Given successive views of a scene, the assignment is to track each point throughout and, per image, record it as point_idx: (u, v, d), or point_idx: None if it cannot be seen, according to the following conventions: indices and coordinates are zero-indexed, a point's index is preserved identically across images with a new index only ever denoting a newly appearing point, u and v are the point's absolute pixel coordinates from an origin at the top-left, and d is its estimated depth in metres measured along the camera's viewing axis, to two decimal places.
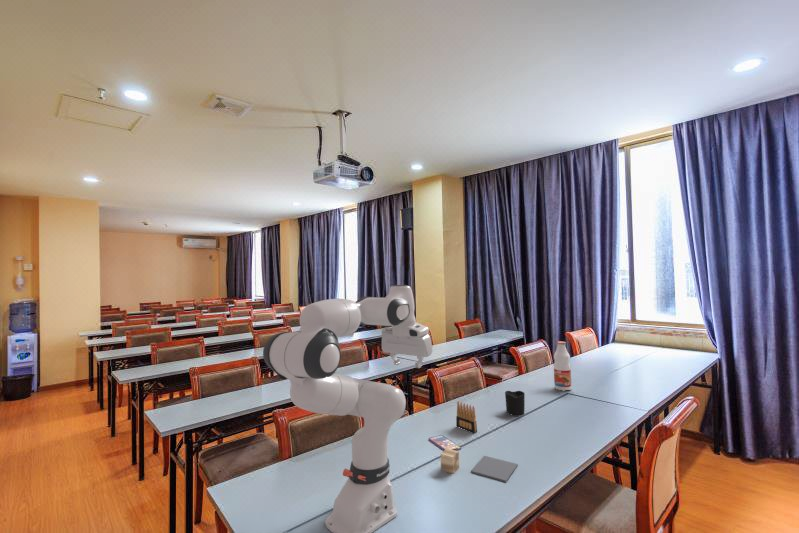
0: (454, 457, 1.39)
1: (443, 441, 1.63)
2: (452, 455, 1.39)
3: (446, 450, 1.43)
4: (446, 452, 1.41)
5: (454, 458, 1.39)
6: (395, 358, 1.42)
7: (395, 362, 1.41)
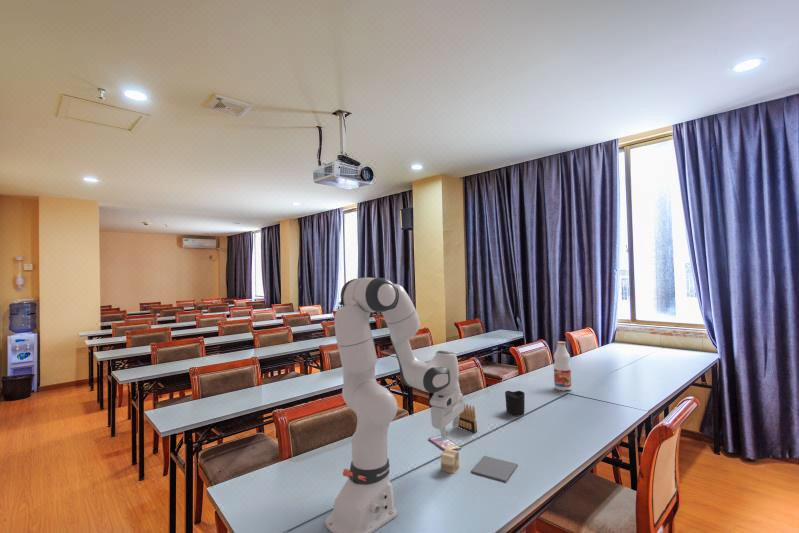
0: (454, 457, 1.39)
1: (443, 441, 1.63)
2: (452, 455, 1.39)
3: (446, 450, 1.43)
4: (446, 452, 1.41)
5: (454, 458, 1.39)
6: (455, 420, 1.46)
7: None
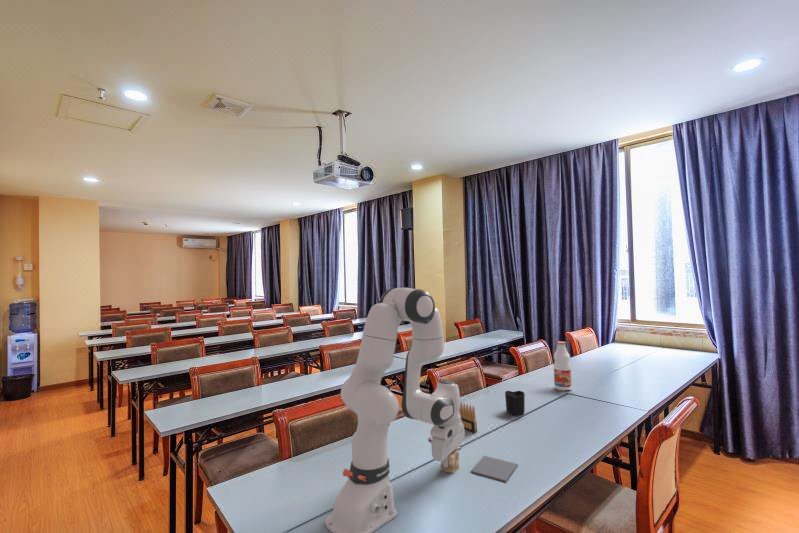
0: (454, 457, 1.39)
1: None
2: (452, 455, 1.39)
3: None
4: None
5: (454, 458, 1.39)
6: None
7: None
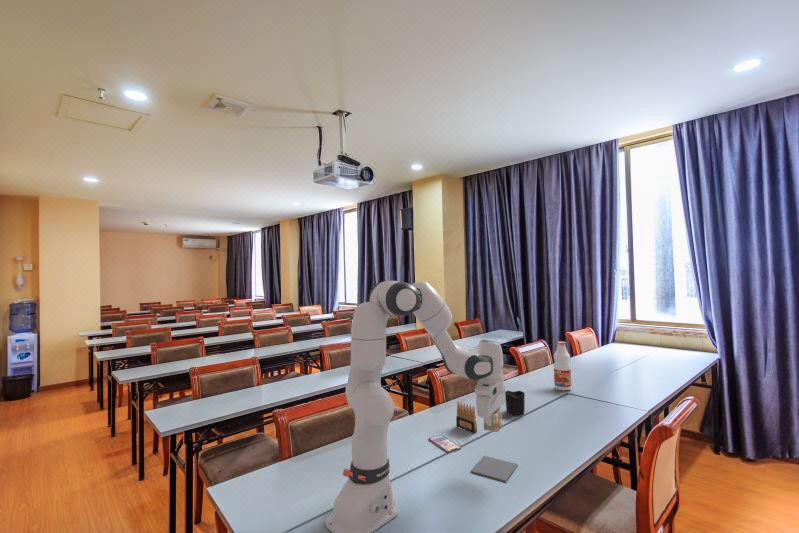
0: (498, 416, 1.38)
1: (443, 441, 1.63)
2: (495, 414, 1.38)
3: None
4: None
5: (498, 417, 1.38)
6: None
7: None
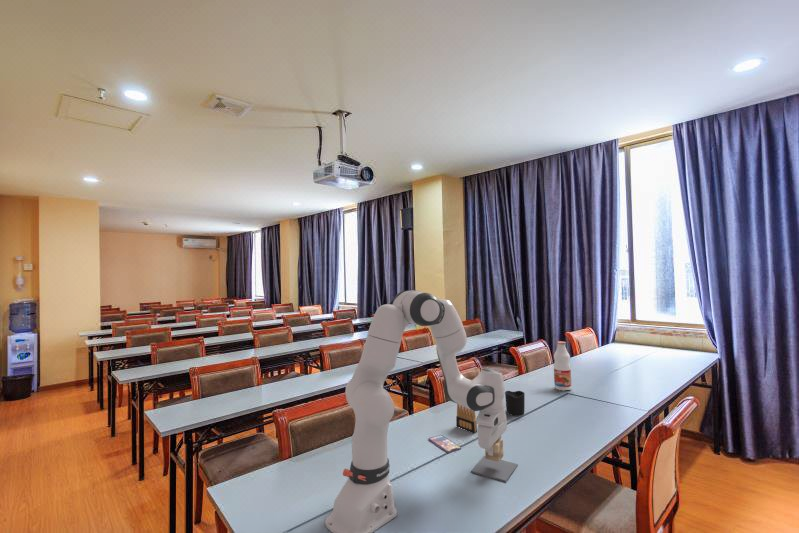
0: (499, 445, 1.38)
1: (443, 441, 1.63)
2: (497, 443, 1.38)
3: None
4: None
5: (499, 446, 1.38)
6: None
7: None
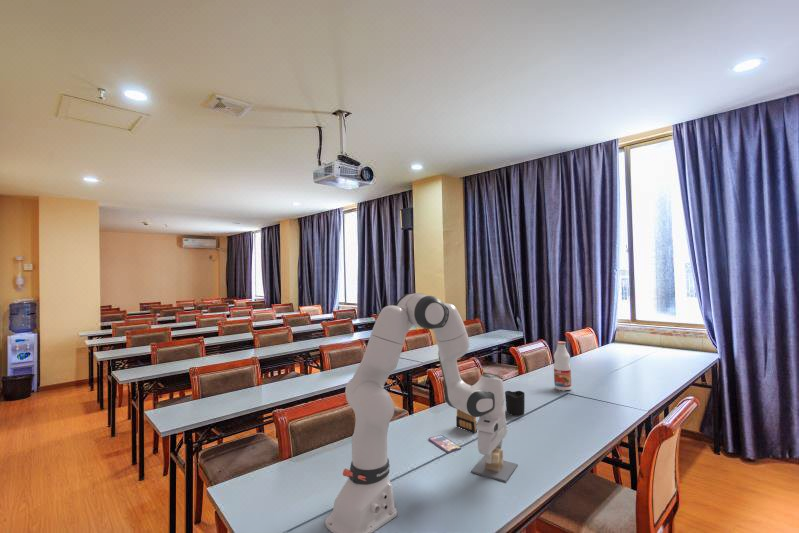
0: (499, 455, 1.37)
1: (443, 441, 1.63)
2: (497, 454, 1.37)
3: None
4: None
5: (499, 456, 1.37)
6: (498, 445, 1.44)
7: None
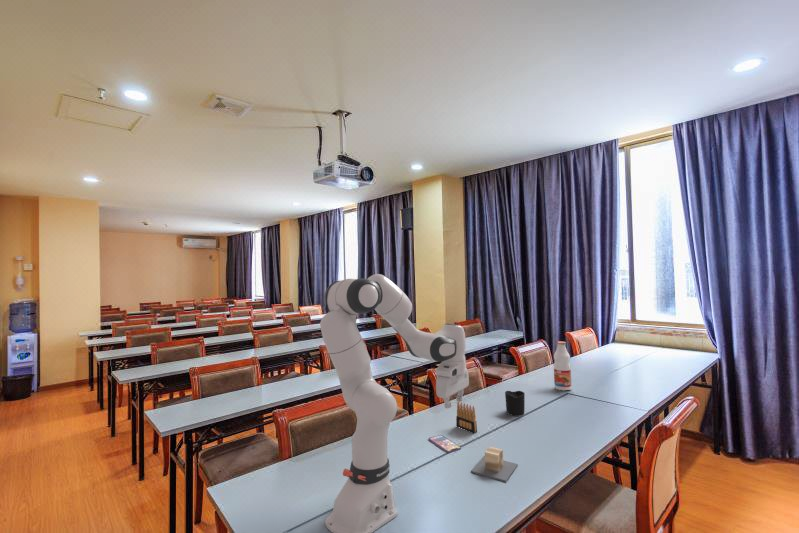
0: (499, 455, 1.37)
1: (443, 441, 1.63)
2: (497, 454, 1.37)
3: (489, 448, 1.42)
4: (490, 450, 1.40)
5: (499, 456, 1.37)
6: (459, 394, 1.47)
7: None
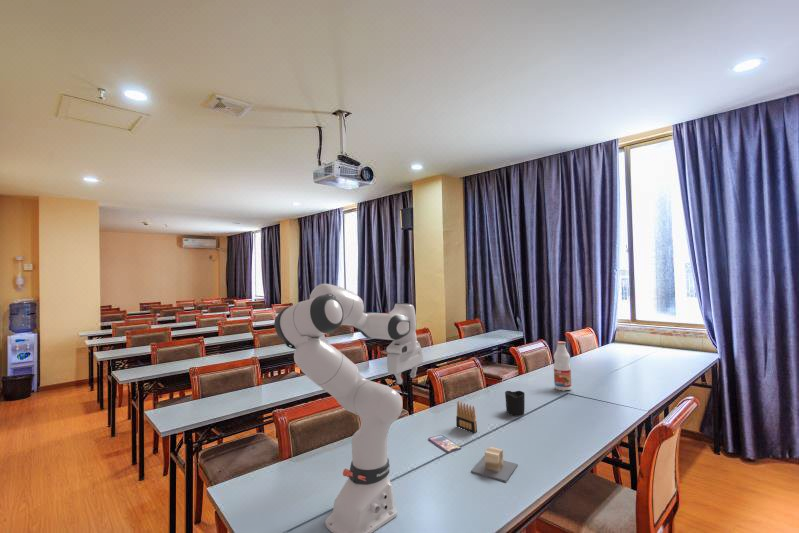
0: (499, 455, 1.37)
1: (443, 441, 1.63)
2: (497, 454, 1.37)
3: (489, 448, 1.42)
4: (490, 450, 1.40)
5: (499, 456, 1.37)
6: (413, 371, 1.52)
7: None
